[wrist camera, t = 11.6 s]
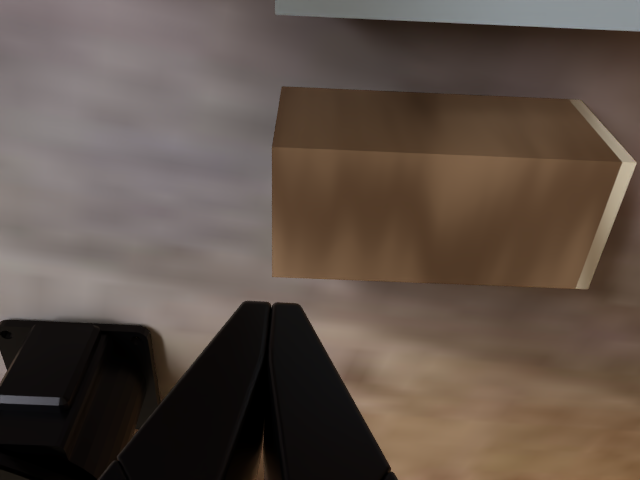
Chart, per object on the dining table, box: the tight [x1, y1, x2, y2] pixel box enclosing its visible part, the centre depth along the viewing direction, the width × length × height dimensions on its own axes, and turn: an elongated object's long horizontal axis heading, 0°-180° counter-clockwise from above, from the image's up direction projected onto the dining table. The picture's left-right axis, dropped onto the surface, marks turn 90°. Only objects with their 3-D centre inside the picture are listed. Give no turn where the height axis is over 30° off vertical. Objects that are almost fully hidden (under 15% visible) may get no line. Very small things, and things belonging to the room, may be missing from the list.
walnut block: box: [272, 87, 637, 289], centre depth 20 cm, size 4×4×10 cm
